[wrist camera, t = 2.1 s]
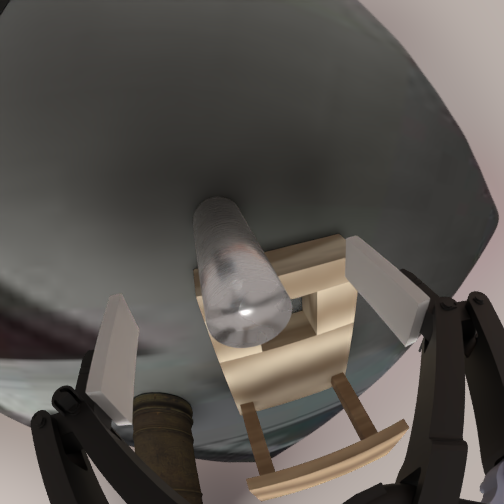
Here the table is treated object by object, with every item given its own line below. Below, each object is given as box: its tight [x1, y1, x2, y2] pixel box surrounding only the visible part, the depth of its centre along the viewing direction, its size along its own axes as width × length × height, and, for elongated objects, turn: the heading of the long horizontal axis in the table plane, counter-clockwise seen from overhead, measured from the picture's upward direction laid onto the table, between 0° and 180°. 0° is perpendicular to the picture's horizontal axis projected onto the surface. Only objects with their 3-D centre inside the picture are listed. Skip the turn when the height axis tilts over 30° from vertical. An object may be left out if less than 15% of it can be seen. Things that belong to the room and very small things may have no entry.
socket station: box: [193, 234, 409, 501], centre depth 24 cm, size 20×15×16 cm
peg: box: [193, 197, 292, 348], centre depth 18 cm, size 4×4×12 cm
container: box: [132, 393, 203, 504], centre depth 26 cm, size 9×9×18 cm
